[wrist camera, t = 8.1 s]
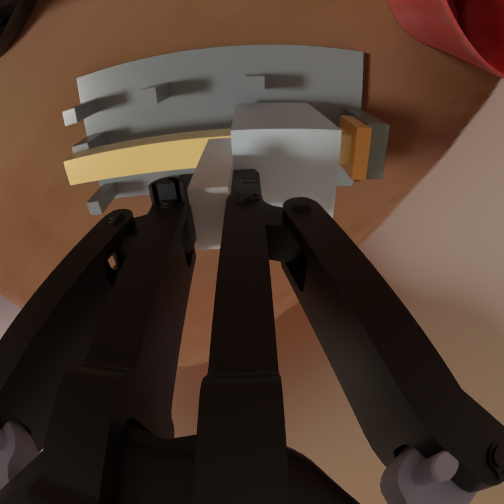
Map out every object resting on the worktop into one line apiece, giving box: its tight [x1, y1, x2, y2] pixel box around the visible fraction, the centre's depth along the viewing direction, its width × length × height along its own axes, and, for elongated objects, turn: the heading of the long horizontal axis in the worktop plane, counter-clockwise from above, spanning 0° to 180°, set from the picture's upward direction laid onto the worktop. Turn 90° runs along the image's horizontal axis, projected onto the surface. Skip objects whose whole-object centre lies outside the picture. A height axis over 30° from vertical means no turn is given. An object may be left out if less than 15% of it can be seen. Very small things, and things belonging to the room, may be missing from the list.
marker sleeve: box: [231, 102, 342, 218], centre depth 16 cm, size 5×5×8 cm
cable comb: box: [63, 45, 390, 215], centre depth 18 cm, size 12×23×7 cm, turn 92°
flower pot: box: [388, 0, 504, 79], centre depth 10 cm, size 11×11×10 cm
